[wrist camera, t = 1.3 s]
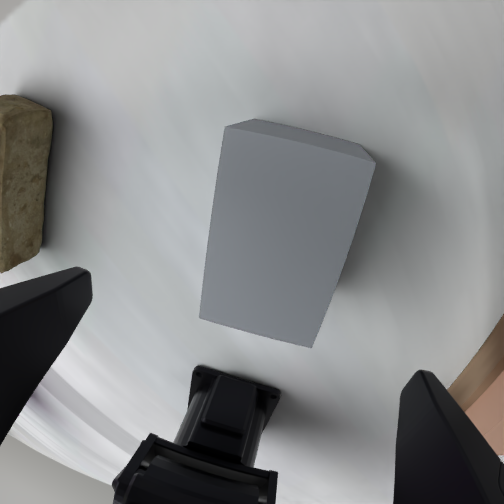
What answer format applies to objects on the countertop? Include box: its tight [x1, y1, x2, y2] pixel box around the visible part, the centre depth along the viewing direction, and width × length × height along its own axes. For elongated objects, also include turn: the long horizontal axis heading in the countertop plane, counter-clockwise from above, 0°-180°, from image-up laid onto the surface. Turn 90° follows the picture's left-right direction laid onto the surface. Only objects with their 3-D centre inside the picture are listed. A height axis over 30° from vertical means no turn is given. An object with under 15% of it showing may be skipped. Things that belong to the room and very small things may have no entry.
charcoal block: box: [199, 119, 376, 348], centre depth 14 cm, size 8×5×5 cm, turn 170°
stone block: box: [0, 95, 53, 273], centre depth 16 cm, size 6×12×5 cm, turn 159°
